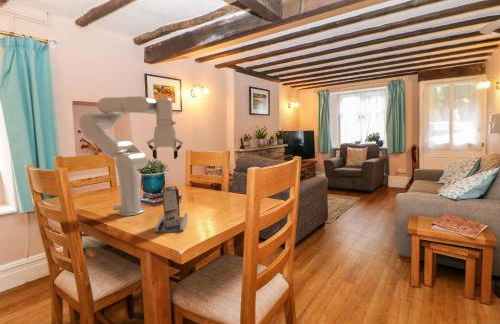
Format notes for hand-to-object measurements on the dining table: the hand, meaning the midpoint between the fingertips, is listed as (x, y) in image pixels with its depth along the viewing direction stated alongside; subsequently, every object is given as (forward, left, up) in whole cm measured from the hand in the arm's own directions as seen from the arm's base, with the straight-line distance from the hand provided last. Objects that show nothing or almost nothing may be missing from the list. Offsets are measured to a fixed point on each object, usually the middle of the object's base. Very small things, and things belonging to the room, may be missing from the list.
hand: (165, 158), depth 137 cm
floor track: (+4, -16, -29) cm, 33 cm away
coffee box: (+4, -16, -28) cm, 33 cm away
